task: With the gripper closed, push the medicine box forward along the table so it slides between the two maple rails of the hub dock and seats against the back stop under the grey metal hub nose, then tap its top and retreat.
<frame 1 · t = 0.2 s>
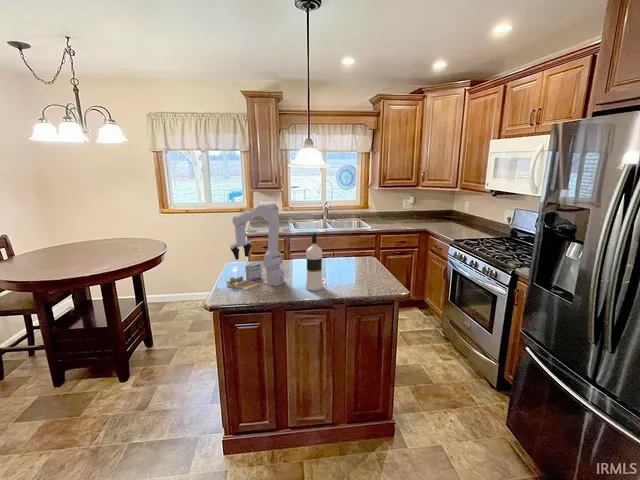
hand: (241, 257, 193), 10 cm above the counter, tool pointing down, fingers open, 7 cm apart
vodka: (314, 288, 172), on the counter
medicine box: (253, 279, 186), on the counter
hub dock: (240, 284, 178), on the counter
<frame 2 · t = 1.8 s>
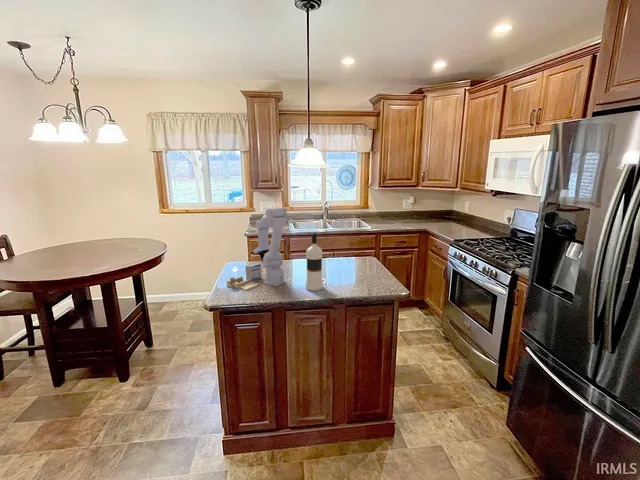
hand: (264, 262, 192), 8 cm above the counter, tool pointing down, fingers closed
nothing on the counter moved.
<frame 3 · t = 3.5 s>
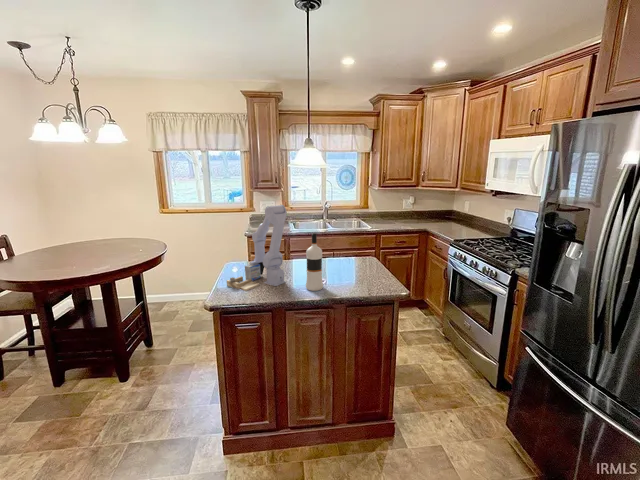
hand: (260, 274, 190), 1 cm above the counter, tool pointing down, fingers closed
medicine box: (253, 279, 186), on the counter, touching gripper
everything else where it was.
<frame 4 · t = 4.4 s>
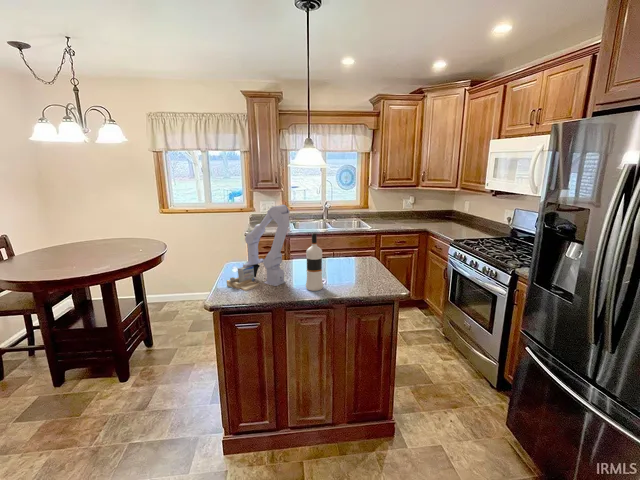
hand: (254, 276, 186), 1 cm above the counter, tool pointing down, fingers closed
medicine box: (246, 282, 182), on the counter, touching gripper
everything else where it was.
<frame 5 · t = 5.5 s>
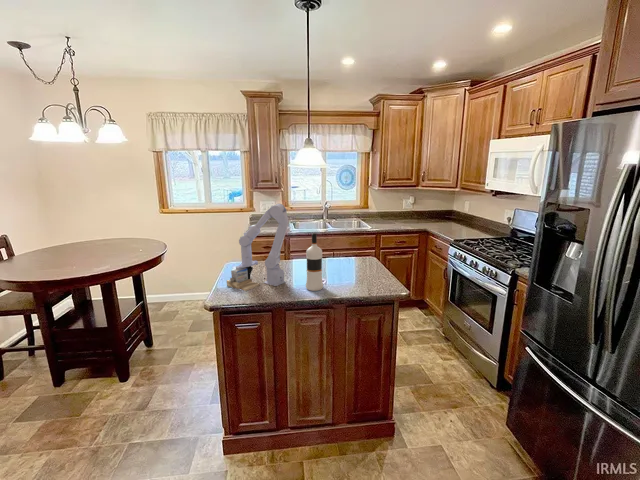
hand: (248, 279, 182), 1 cm above the counter, tool pointing down, fingers closed
medicine box: (240, 284, 178), on the counter, touching gripper, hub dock
everything else where it was.
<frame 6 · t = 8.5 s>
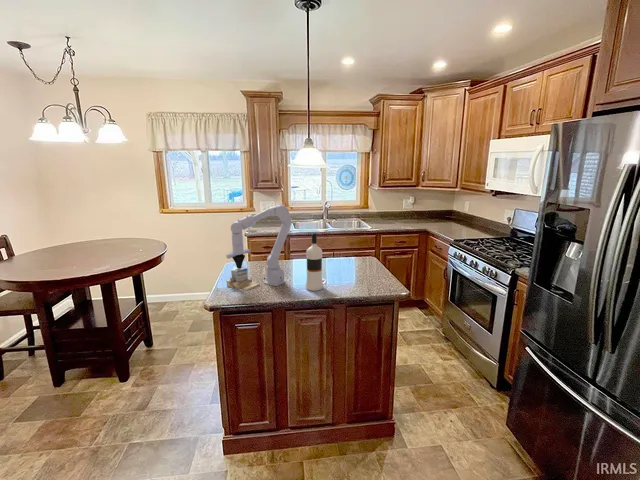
hand: (239, 268, 176), 9 cm above the counter, tool pointing down, fingers closed
medicine box: (240, 284, 178), on the counter, touching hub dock
everything else where it was.
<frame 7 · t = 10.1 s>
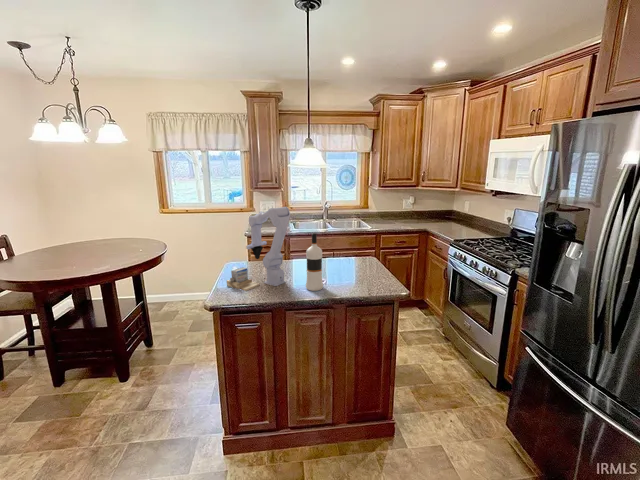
hand: (257, 258, 190), 10 cm above the counter, tool pointing down, fingers closed
nothing on the counter moved.
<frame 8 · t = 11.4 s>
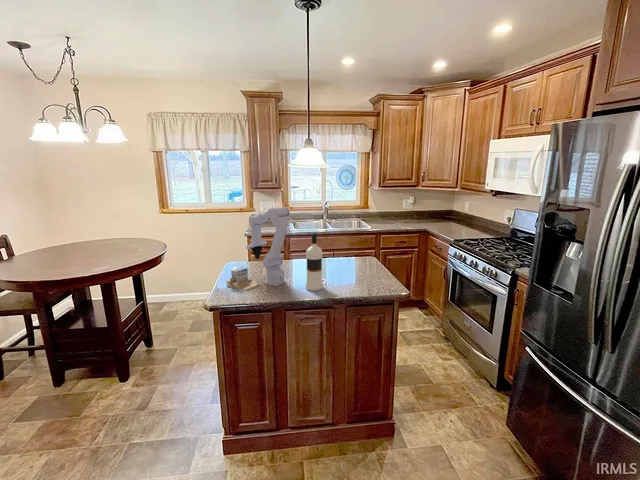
hand: (257, 258, 190), 10 cm above the counter, tool pointing down, fingers closed
nothing on the counter moved.
at the end: medicine box 0.8 cm off-centre on the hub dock, point 0.0 cm above the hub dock's base; medicine box tilted 0°; medicine box moved 10.3 cm from its start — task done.
